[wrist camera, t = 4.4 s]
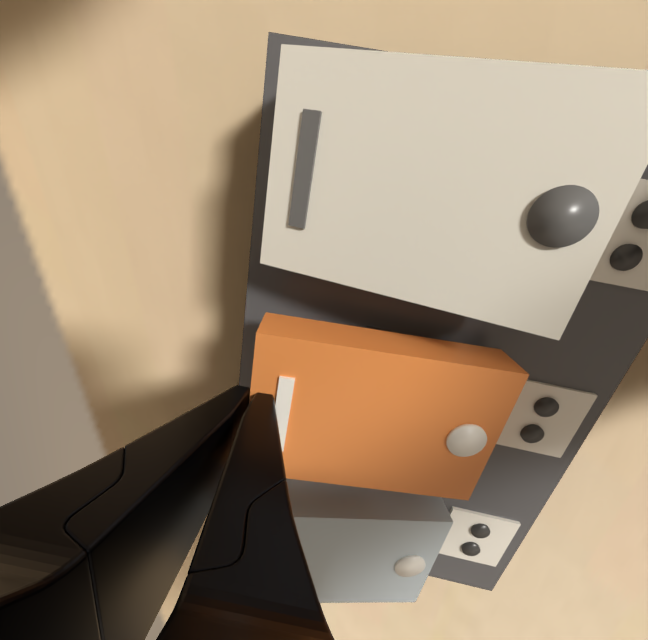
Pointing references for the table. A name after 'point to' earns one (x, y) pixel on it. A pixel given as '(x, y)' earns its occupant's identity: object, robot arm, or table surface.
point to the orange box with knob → (383, 405)
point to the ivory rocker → (452, 177)
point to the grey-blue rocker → (367, 540)
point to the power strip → (524, 348)
